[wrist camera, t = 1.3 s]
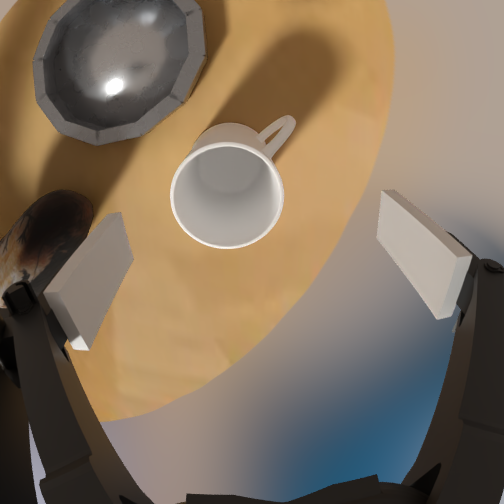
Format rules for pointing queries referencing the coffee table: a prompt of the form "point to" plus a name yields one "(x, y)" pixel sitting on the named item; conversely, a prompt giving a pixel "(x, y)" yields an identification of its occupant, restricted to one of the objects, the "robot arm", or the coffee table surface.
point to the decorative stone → (44, 239)
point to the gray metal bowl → (118, 65)
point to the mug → (230, 184)
